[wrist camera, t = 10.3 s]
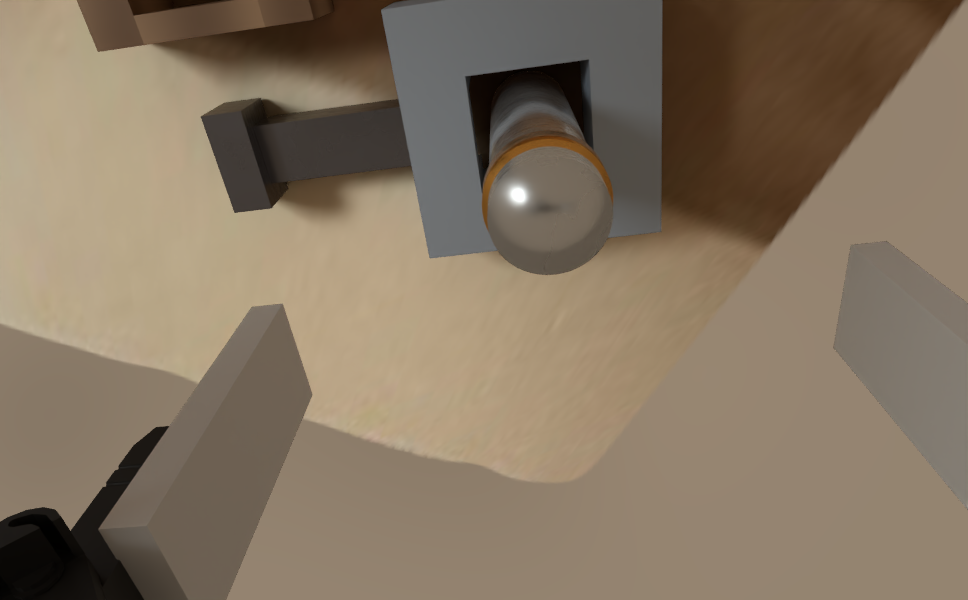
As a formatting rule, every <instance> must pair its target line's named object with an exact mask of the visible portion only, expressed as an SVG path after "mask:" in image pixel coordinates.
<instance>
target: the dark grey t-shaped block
mask: <svg viewBox="0 0 968 600" xmlns="http://www.w3.org/2000/svg"><path fill="white" fill-rule="evenodd" d="M201 119H202V122H203V124H204V127H205V130H206V133H207V136H208V139H209V141H210V144H211V147H212V150H213V153H214V156H215V158H216V161H217V164H218V167H219V170H220V173H221V176H222V178H223V181H224V184H225V187H226V190H227V193H228V195H229V198H230V201H231V204H232V207H233V210H234V212H235V213H237V212H245V211H253V210H261V209H269V208H272V207H273V206H274V205H275V204H276V202H277V201H278V200H279V199H280V198H281V197H282V195H283V194H284V193H285V192H286V191H287V189H288V186H287V183H286V182H287V181H295V180H303V179H311V178H319V177H327V176H335V175H343V174H350V173H358V172H366V171H374V170H382V169H390V168H398V167H405V166H411V161H410V155H409V150H408V145H407V140H406V135H405V130H404V125H403V120H402V115H401V110H400V105H399V99H395V100H388V101H380V102H373V103H366V104H358V105H351V106H343V107H336V108H329V109H321V110H314V111H307V112H299V113H292V114H285V115H277V116H270V117H267V116H266V113H265V110H264V106H263V103H262V100H261V98H255V99H248V100H241V101H234V102H226V103H223V104H221V105H220V106H218V107H216V108H214V109H213V110H211V111H209V112H208V113H206V114H204V115H203V116H201Z"/></svg>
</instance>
